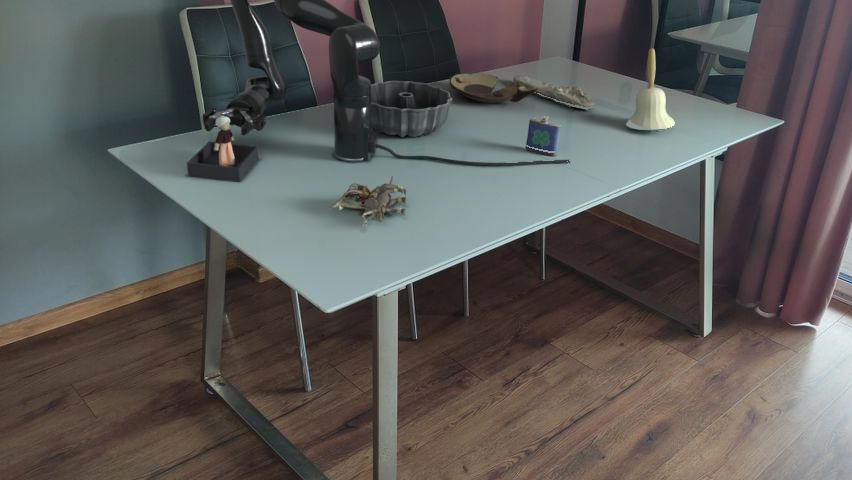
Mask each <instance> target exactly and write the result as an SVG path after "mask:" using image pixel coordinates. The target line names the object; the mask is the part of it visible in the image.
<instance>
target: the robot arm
mask: <svg viewBox="0 0 852 480" xmlns="http://www.w3.org/2000/svg"><path fill="white" fill-rule="evenodd" d="M273 2H274V5H275V7H276V10H277V11H278V12H279V13H280V14H281V15H282V16H284V17H285V18H286V19H287V20H288V21H290V22H292V23H293V24H295V25H296V26H298V27H300V28H303V29H305V30H307V31H310V32H314V33H317V34H320V35H325V36H328V37H329V38H328V58H329V73H330V78H331V82H332V86H333V121H334V122H333V124H334V125H333V135H334V136H333V139H334V141H333V143H334V147H333V149H334V150H333V156H334V157H335V158H336V159H338V160H340V161H344V162H352V163H358V162H368V161H369V160H370V158H371V157H372V154H376V151H377V149H380V150H384V151H386V152H388V153H390V154H391V156H393V157H395V158H397V159H401V160H402V159H403V160H430V161H437V162H443V163H444V162H445V163H448V164H449V163H450V164H458V165H468V166H480V167H481V166H483V167H507V166H510V167H511V166H526V165H543V164H568V162H569V164H570V163H571V160H570V159H553V160H554V161H543V160H532V161H533V162H527V161H517V162H518V163H506V162H487V161H486V162H483V161H482V162H481V161H469V160H468V161H467V160H457V159H449V158H444V157H439V156H438V157H437V156H430V155H402V154H399V153H396V152H395V151H393V149H391V148H390V147H386V146H385V145H381V144H378V140H379V139H378V136H373V127H372V119H371V84H372V83H371V80H370V79H369V78H367V77H365V76H361V75H359V69H358V67H359V66H358V65H361V64H366V63H370V62H371V61H373V60H374V59H376V58H377V57H378V55H379V54H380V50H381V43H380V39H379V37H378V35H377V33H376V32H375V31H374V29H372V27H370V26H369V25H368V24H366V23H364V22H363V21H361V20H359V19H356V18H355V17H353V16H351V15H348V13H345V12H344V11H342V10H340V9H339V8H337V7H336V6H334V5H333V4H332V3H331V2H328V1H327V0H273ZM229 3H230V5H231V6H232V7H231V8H232V10H233V12H234V15H235V18H236V21H237V24H238V27H239V31H240V34H241V35H240V36H241V38H242V44H243V48H244V55H245V58H246V63H247V65H248V67H250V68H252V69H257V70H261V71H263V72H264V73H265V74H266V75H262V76H252V77H250V78H248V79H247V80H246V82H245V87H244V90H243V91H242V92H240V93H238V94H237V95H236V96H235V97H234V98H232V100H231V101H229V102H228V104H227V106H226V108H225V109H223V110H221V111H217V109H216V107H212V108H210V109H208V110H207V111H205V112H204V113H203V114H202V122H203V126H204V130H205V131H206V132H209V133H210V132H211V131H212V130H213V129H214V128H215V127H218V126H217V124H216V119H217V118H218V117H220V116H226V117H228V118H229V119H230V123H229V125H230V126H231V127H232V126H236V127H239V128H240V132H241V133H240V134H241V136H246V135H248V134H249V133H251V132H254V130H255V131H257V132H261V131H262V130H263V129H264V127H265V126H266V125H267V120H266V119H267V118H266V117H267V116H266V113H264V112H265V110H266V109H267V108H268V107H269V105H270V103H279V102H281V101H283V100H284V99H285V97H286V91H287V90H286V89H287V88H286V84H285V82H284V80H283V78H282V75H281V74H280V71H279V70H278V67H277V65H276V62H275V59H274V56H273V50H272V44H271V40H270V39H271V38H270V36H269V32H268V30H267V28H266V26H265V24H264V23H263V22H262V20H261V19H260V18H259V16H258V15H257V14H256V12H255V10H254V9H253V7H252V6H251V4H250V1H249V0H229ZM569 160H570V161H569ZM567 161H568V162H567ZM564 162H565V163H564Z"/></svg>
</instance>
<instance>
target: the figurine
mask: <svg viewBox="0 0 852 480" xmlns="http://www.w3.org/2000/svg"><path fill="white" fill-rule="evenodd" d="M393 179H394V177H393V175H392V176H391V177H390V181H389V183H383V184H381V185H378V186H376V187H375V188H373V189H372V190H371V189H370V188H368V185H363V184H358V183H351V184H350V185H349V188H348V189H347V190H346V191H345V192H344V193H343V194H342V195H341V197H340V198H339V199H338V200H337V201H335V202H334V203H333V204H332V205H331V206H329V210H331V209H336V208H337V209H338V211H342V210H344V208H347V209H350V210H351V209H352V210H356V211H359V210H361V211H360V214H362V212H363V211H364V212H363V214H362V218H363V219H364V220H363V222H362V228H366V227H367V226H368V224H367V223H368V222H369V221H370V220H371V219H374V220H377V221H379V222H383V221H385V214H390V213H392V214H394V213H398V214H402V215H403V216H406V208H402V207H399V208H391V206H393V205H395V204H397V203H398V204H401V203H404V204H405V205H406V204H407V188H403V186H401V185H396V184H393ZM398 193H401V194H403V195H404V196H398V197H396V198H395V197H394V198H392V195H391V194H398ZM367 215H368V217H367V218H365V216H367Z"/></svg>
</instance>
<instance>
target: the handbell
mask: <svg viewBox="0 0 852 480" xmlns="http://www.w3.org/2000/svg"><path fill="white" fill-rule="evenodd" d="M647 54H648V55H647V64H646V65H647V66H646V69H647V70H646V71H647V73H646V74H647V82H648V86H647V87H644V88H642V89H640V90H639V91H638V93H637V94H636V97H635V111H634V113H633V114H632V115H631V117H629V119H630V120H631V122H632V123H634V124H636V125H638V126H641V127H645V128H651V129H665V130H668V129H667V128H669V129H671V128H673V127H674V126H675V123H676V122H675V120H674V119H673V118H672V117H671V116H670V115H669V113H667V110H666V103H667V102H666V101H667V100H666V93H665V91H664V90H663V89H661V88H659V87H656V86H654V85H655V77H656V68H657V67H656V61H657V60H656V51H655V48H653V47H651V48H649V50H648V53H647ZM672 126H673V127H672ZM670 127H671V128H670Z"/></svg>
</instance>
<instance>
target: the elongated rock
mask: <svg viewBox="0 0 852 480" xmlns="http://www.w3.org/2000/svg"><path fill="white" fill-rule="evenodd" d="M515 84H516V86H517V87H518V88H519V87H520V86H524V87H525V88H527V89H532V88H538V90H537V91H536V93H533V94H534V95H536V96H538V97H539V98H543V99H547V100H549V101H553V102H554V103H556V104H559V105H563V106H565V107H567V108H569V109H572V108H571V107H572V106H569V105H566V104H563V103H560V102H556V101H554V100H552V99H549V98H547V97H550V98H553V99H556V100H558V101H562V102H566V103H570V104H573V105H579V106H583V107H591V106H593V105H595V106H596V103H595V101H594V99H593V98H592V96H591V95H589V94H588V93H586V92H584V91H583V90H582V89H581V87H580V86H556V85H554V84H551V83H549V82H545V81H542V80H539V79H536V78H533V77H531V76H529V75H528V76H527V75H516V76H514V77H513V79H512V85H515ZM537 93H540V94H542V95H544V96H547V97H543V96H541V95H539V94H537Z"/></svg>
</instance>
